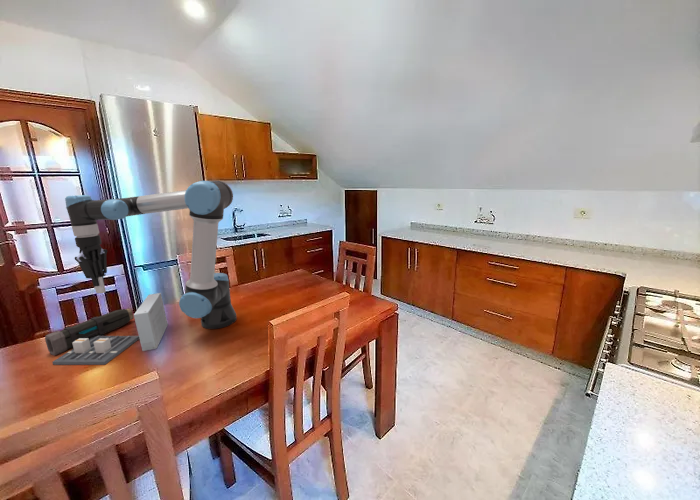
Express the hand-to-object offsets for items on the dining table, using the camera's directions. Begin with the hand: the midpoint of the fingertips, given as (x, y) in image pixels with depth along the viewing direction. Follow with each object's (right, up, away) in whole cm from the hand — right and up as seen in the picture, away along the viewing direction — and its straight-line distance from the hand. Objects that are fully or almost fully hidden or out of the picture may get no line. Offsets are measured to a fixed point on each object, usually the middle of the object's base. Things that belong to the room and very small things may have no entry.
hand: (101, 292), depth 121 cm
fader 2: (+8, -21, -8) cm, 24 cm away
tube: (-7, -20, +6) cm, 22 cm away
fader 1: (0, -21, -8) cm, 23 cm away
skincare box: (+19, -20, +5) cm, 28 cm away
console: (+4, -22, -5) cm, 23 cm away
